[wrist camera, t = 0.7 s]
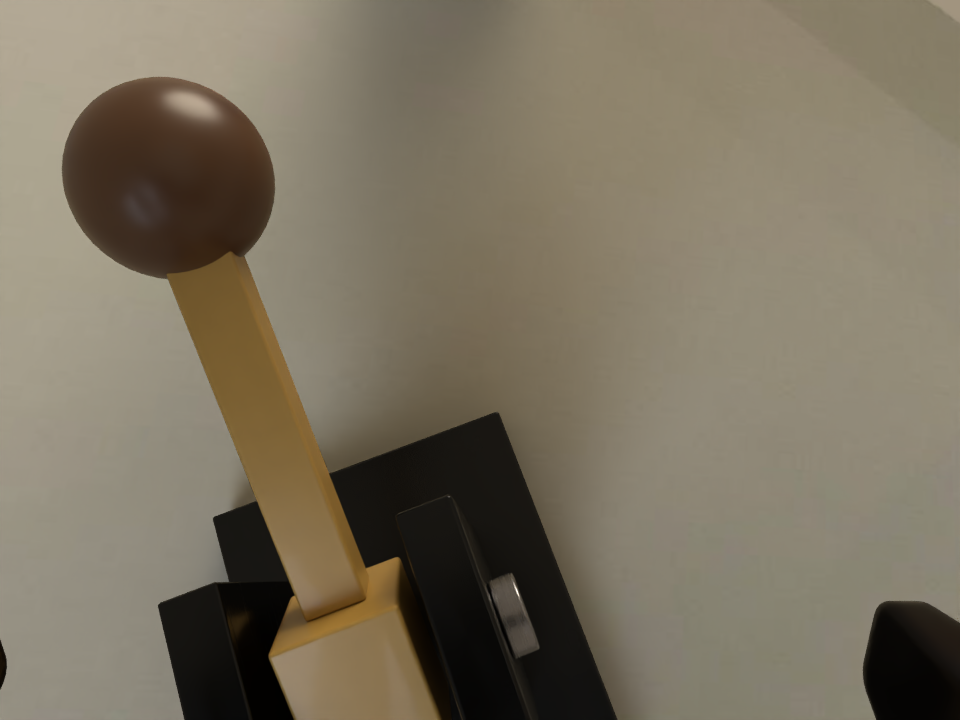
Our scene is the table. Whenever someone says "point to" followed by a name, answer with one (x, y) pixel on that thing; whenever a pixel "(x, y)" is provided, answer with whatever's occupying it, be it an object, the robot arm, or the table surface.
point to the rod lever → (251, 383)
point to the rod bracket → (433, 578)
